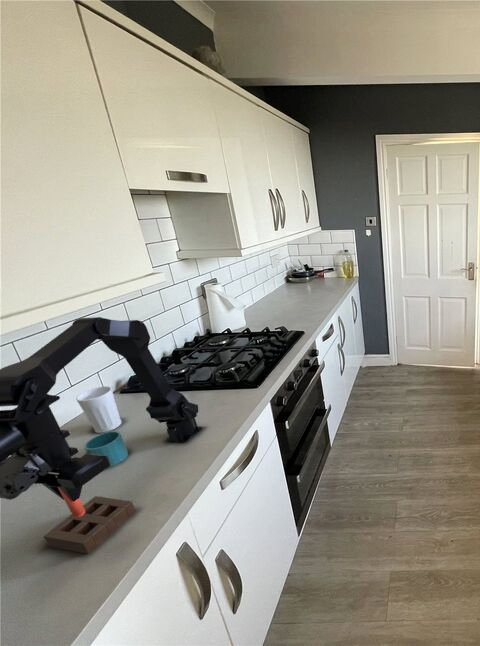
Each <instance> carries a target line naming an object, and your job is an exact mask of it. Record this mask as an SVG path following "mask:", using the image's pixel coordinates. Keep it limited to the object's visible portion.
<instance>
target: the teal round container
mask: <svg viewBox="0 0 480 646" xmlns="http://www.w3.org/2000/svg"><path fill="white" fill-rule="evenodd" d="M83 448H84V451H85V452H86V454H96V455H104V456H108V458H109V461H110V463H111V465H110V466H109V467H108V468H111V467H114V466H116V465H118V464H119V463H121V462H122V461H124V460H125V459H126V458H127V457H128V455H129V451H128V448H127V446H126V442H125V441H124V439H123V436H122V434H121V432H120V431H117V430H110V431H107V432H103V433H99V434H98V435H96V436H94V437H91V439H89V440H88V441H86V442H85V444H84V447H83Z"/></svg>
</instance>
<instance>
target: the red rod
mask: <svg viewBox="0 0 480 646" xmlns="http://www.w3.org/2000/svg"><path fill="white" fill-rule="evenodd" d="M58 489H59V491H60V493H61V495H62V496H63V498H64V502H65V504H66V506H67V508H68V510H69V511H70V514H71V515H73V517H75V518H78V517H81V516H83V515H84V513H85V509H84V507H83V505H84V504H83V503H82V501H81V499H80V497H79V498H78V499H77V500H76V501H71V500H70V499H69V498H68V497H67V496H66V494H65V493H64V492H63V491H62V490H61V489H60V487H58Z"/></svg>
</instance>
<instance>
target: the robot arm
mask: <svg viewBox="0 0 480 646" xmlns="http://www.w3.org/2000/svg"><path fill="white" fill-rule="evenodd" d="M97 340H98V341H102V343H103V344H104V345H105V346H106V347H107V348H108V349H109V350H110V351H112V352H114V353H115V354H118V355H119V356H121V357H122V358H124V359H125V361H126V362H127V364H128V365H129V367H130V369H131V370H132V371H133V373H134V374H135V376H136V378H137V379H138V381H139V382H140V384H141V385H142V387H143V388H144V390H145V392H146V393H147V395H148V396H149V398H150V399H149V403H148V406H146V408H145V411H146V412H147V413H148V414H149V417H150V419H154V420H155V421H157V422H158V423H159V424H162V423H165V425H166V433H167V435H168V437H167V438H166V440H167V442H168V441H169V442H176V443H177V442H178V443H187V442H188V441H190V440H191V439H192V438H194V437H195V436H196V435H197V434H198V433H200V432H201V431H202V430H203V427H202V426H198V424H197V420H196V418H197V417H198V413H199V404H196V403H193V402H189V400H188V399H187V397H186V396H185V395H184V394H183V393H181V392H180V391H177V390H175V389H174V388H172V387H171V384H170V383H169V381H168V380H167V378H166V376H165V375H164V373H163V371H162V370H161V368H160V366H159V364H158V362H157V361H156V359H155V358H154V355H153V354H152V352H151V351H150V349H149V345H150V341H151V335H150V333H149V330H148V327H147V325H146V324H145V323H144V322H143V321H142V320H138V319H131V320H129V319H127V320H118V319H117V320H116V319H109V318H104V317H102V316H97V317H95V316H94V317H93V316H92V317H80V318H77V319H75V320H73V322H72V324H71V325H70V326H69V327H67V328H66V329H65V330H63V331H62V332H61V333H60V334H58V335H56V336H55V337H54V338H53V339H51V340H50V341H49V342H47V343H46V344H45V345H43V346H42V347H40V349H38V350H37V351H35V352H34V353H33V354H31V355H30V356H28V357H27V358H25V359H23V360H21V361H18V362H15V363H13V364H9V365H7V366H4V367H1V368H0V408H1V407H15V408H13V409H3V410H0V499H4V500H9V501H10V500H14V499H16V498H17V497H19V496H20V495H21V494H22V493H25V492H26V491H28V490H29V489H30V488H31V487H32V486H33V485H34V484H35V485H36V484H37V485H38V484H39V485H42V486H43V487H45V488H46V489H48V490H50V491H51V492H52V493H53V494H54V495H56V496H57V497H59V498H60V499H61V500H64V498H63V496H62V495H61V493H60V491H59V489H58V487H60V489H61V490H62V491H63V492H64V493H65V494H66V496H67V497H68V498H69V499H70V500H71V501H76V500H77V499H78V498H79V499H80V498H81V494H82V491H83V490H82V489H83V486H84V485H86V484H88V482H90V481H92V480H93V479H94V478H95V477H97V476H98V475H100V474H101V473H102V472H104V471H105V470H107V469H108V468H110V467H109V466H110V465H111V463H110V461H109V458H108V456H104V455H96V454H87V453H86V454H83V455H82V456H75V455H76V454H77V455H78V453H79V449H78V447H72V446H70V445H69V442H68V440H67V439H66V438H68V437H69V436H71V433H70V431H69V430H67V429H62V428H61V426H60V424H59V423H58V421H57V418H56V417H55V415H54V413H53V411H52V409H51V407H50V405H52V404H54V403H56V402H58V401H59V400H60V399H61V396H60V395H54V394H49V392H50V391H51V390H52V389H53V388H54V386H55V385H56V384H57V375H59V373H60V372H61V370H63V369H64V368H66V366H68V365H69V364H71V362H72V361H74V360H75V359H76V358H77V357H78V356H79V355H81V353H83V352H84V351H85V350H86V349H87V348H89V347H90V346H91V345H92V344H93V343H94V342H95V341H97ZM64 501H65V500H64Z"/></svg>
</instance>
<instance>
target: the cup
mask: <svg viewBox="0 0 480 646" xmlns="http://www.w3.org/2000/svg"><path fill="white" fill-rule="evenodd" d="M75 400H76V401H77V403H78V405H79V406H80V408H81V410H82V411H83V413H84V414H85V416H86V418H87V420H88V421H89V423H90V424H91V426H92V428H93V430H94V432H95V433H97V434H103V433H107V432H111V431H113V430H114V429H116V428H118V427H119V426H121V424H122V419H121V417H120V414H119V410H118V406H117V403H116V400H115V396H114V391H113V389H112V387H111V386H109V385H108V386H107V385H104V386H98V387H94V388H91V389H87V390H86V391H83V392H81V393H79V394H78V395H77V396H76V397H75Z"/></svg>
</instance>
